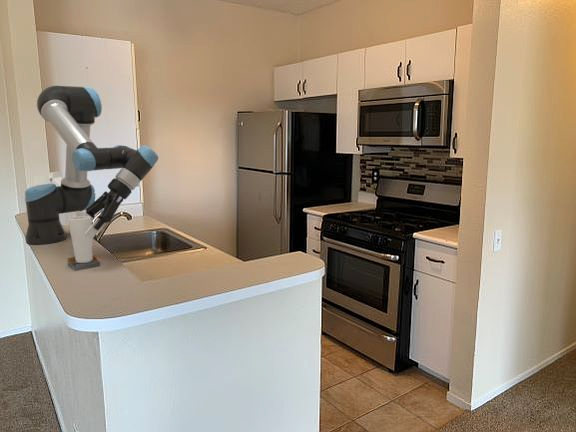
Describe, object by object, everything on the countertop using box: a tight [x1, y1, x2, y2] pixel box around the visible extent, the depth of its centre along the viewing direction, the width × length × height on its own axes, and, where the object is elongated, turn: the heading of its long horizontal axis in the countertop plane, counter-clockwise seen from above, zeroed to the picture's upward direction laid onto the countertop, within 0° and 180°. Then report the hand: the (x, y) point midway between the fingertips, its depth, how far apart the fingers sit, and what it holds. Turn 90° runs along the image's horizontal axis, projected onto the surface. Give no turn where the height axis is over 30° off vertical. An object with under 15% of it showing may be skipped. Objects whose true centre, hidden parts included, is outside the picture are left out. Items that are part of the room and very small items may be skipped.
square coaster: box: [66, 254, 101, 271], centre depth 154 cm, size 8×8×2 cm
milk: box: [44, 171, 78, 226], centre depth 230 cm, size 12×12×26 cm
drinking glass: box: [68, 215, 94, 263], centre depth 153 cm, size 7×7×15 cm
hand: (81, 233), depth 152 cm, fingers open, 13 cm apart
